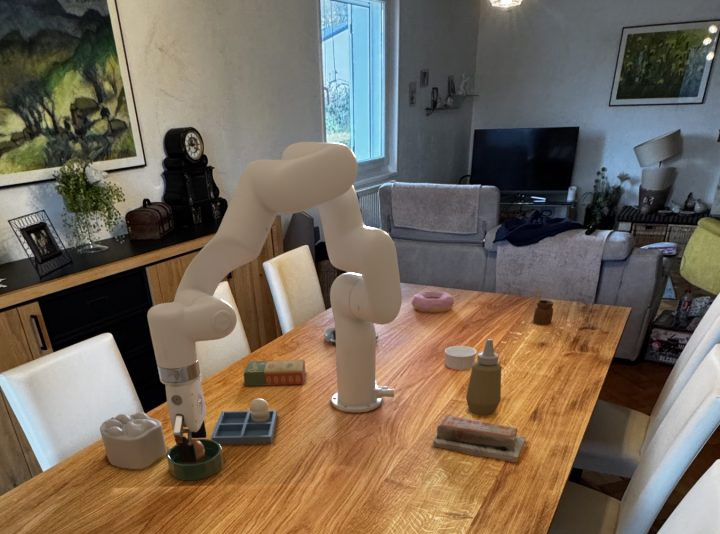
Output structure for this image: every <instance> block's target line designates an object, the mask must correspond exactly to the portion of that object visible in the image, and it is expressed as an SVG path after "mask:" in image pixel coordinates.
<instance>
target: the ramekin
mask: <svg viewBox="0 0 720 534" xmlns="http://www.w3.org/2000/svg"><path fill="white" fill-rule="evenodd" d="M477 352H478V351H477V349H476V348H474V347H471V346H467V345H452V346H449V347H446V348H445V349H444V355H445V366H446V367H447V368H449V369H451V370H456V371H464V370H470V369H472V366H473V364H474V363H475V362H476V355H478V353H477Z"/></svg>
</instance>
